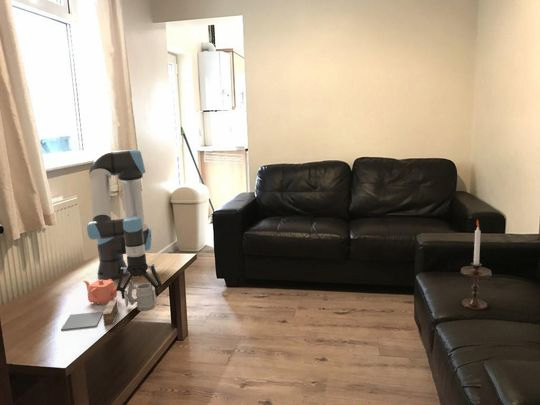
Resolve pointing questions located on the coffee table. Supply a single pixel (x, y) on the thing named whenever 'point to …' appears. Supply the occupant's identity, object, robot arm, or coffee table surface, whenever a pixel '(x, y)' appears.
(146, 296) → the mug
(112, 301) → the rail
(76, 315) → the plate
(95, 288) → the teapot
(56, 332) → the coffee table surface
